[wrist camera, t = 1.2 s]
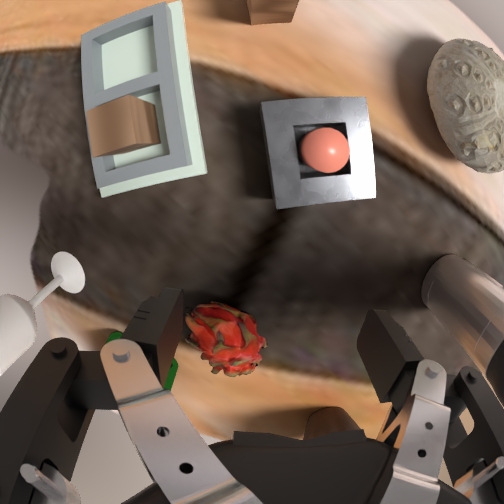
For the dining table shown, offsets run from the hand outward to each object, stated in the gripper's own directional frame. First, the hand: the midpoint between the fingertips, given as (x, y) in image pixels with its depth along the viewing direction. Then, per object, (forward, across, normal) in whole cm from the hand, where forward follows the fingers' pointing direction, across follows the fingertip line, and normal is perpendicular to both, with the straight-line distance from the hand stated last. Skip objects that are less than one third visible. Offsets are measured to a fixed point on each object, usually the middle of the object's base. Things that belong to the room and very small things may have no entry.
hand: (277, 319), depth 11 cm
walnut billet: (+21, +2, -24) cm, 32 cm away
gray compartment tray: (+20, +16, -12) cm, 28 cm away
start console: (+21, -4, -8) cm, 22 cm away
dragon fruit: (+21, +3, +15) cm, 26 cm away
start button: (+18, -4, -8) cm, 20 cm away
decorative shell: (+21, -25, -20) cm, 38 cm away
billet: (+19, +14, -8) cm, 25 cm away
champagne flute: (+20, +26, +12) cm, 35 cm away
